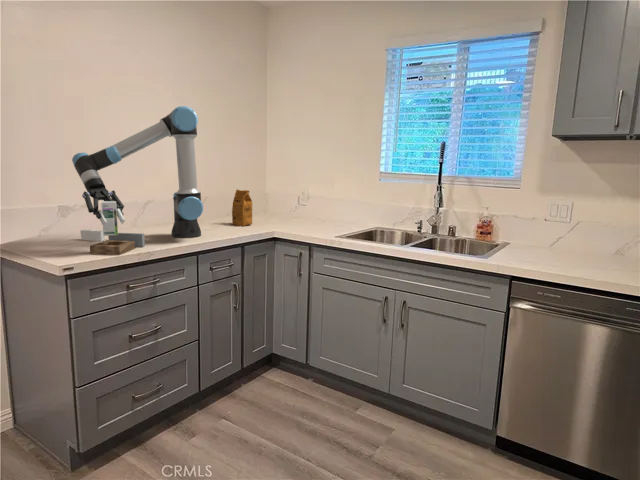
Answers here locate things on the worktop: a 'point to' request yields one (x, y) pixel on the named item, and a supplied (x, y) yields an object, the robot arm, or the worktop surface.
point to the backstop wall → (129, 238)
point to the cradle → (112, 247)
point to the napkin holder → (92, 235)
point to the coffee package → (242, 208)
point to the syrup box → (110, 218)
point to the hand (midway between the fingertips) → (114, 222)
